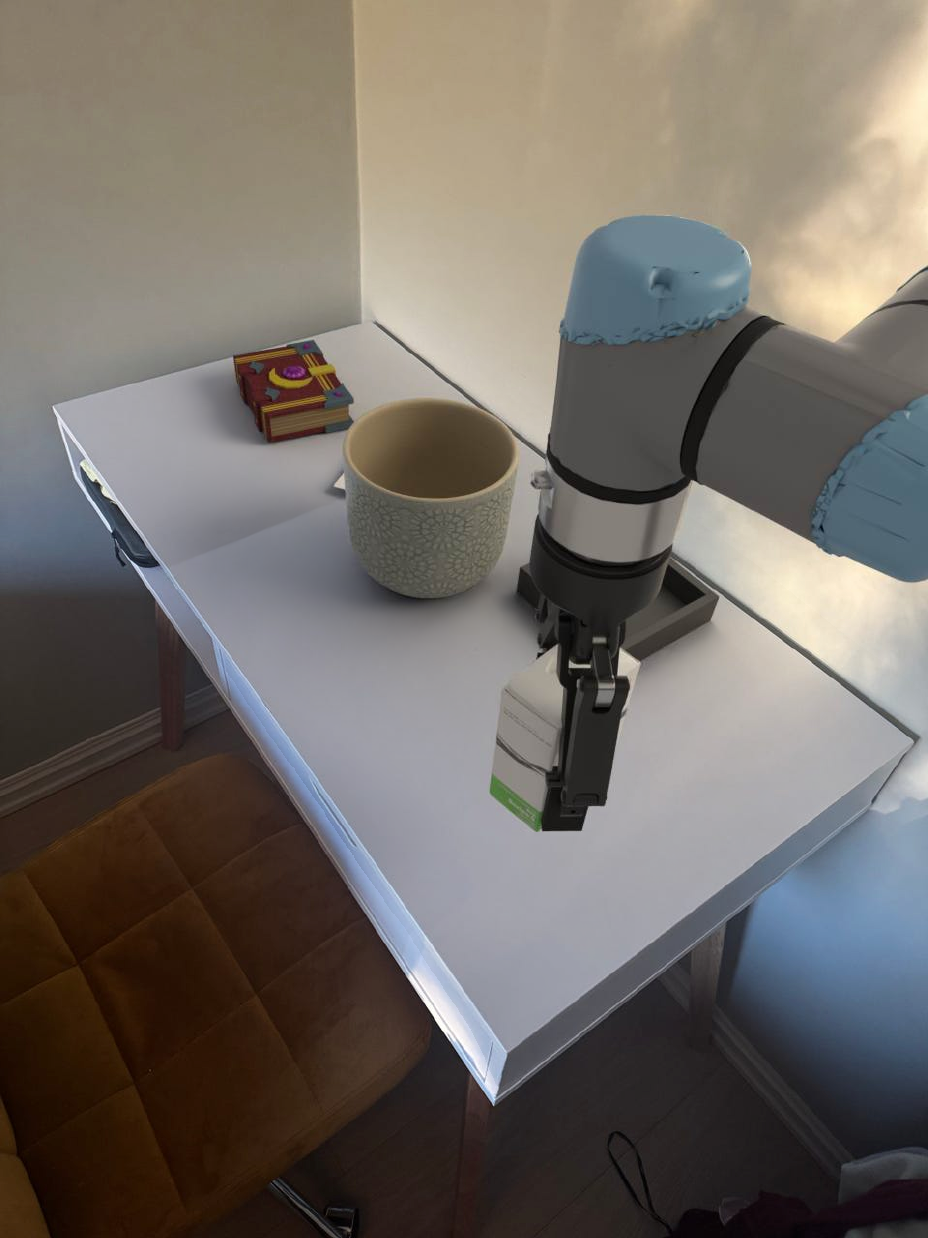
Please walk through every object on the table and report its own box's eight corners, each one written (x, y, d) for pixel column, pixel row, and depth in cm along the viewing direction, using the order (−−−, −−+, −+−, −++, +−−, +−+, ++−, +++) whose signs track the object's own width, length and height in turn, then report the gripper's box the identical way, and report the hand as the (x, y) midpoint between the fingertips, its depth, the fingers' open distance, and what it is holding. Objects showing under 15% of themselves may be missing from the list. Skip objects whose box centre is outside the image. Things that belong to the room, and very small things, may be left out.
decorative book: (267, 447, 110) (263, 412, 107) (231, 380, 120) (227, 346, 117) (355, 429, 114) (354, 394, 111) (313, 365, 124) (311, 331, 120)
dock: (710, 620, 94) (719, 596, 92) (609, 679, 88) (615, 655, 85) (616, 542, 102) (622, 518, 100) (516, 591, 96) (519, 566, 93)
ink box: (537, 836, 62) (558, 732, 54) (485, 792, 65) (498, 685, 56) (613, 765, 67) (644, 660, 59) (562, 726, 69) (585, 619, 61)
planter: (352, 511, 103) (348, 393, 92) (500, 515, 104) (513, 400, 93) (342, 618, 91) (335, 498, 80) (508, 622, 92) (525, 504, 81)
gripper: (518, 410, 56) (491, 654, 72) (559, 677, 41) (513, 910, 57) (638, 413, 56) (584, 655, 73) (722, 677, 41) (630, 908, 57)
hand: (553, 767), depth 65 cm, fingers closed on ink box, 9 cm apart
